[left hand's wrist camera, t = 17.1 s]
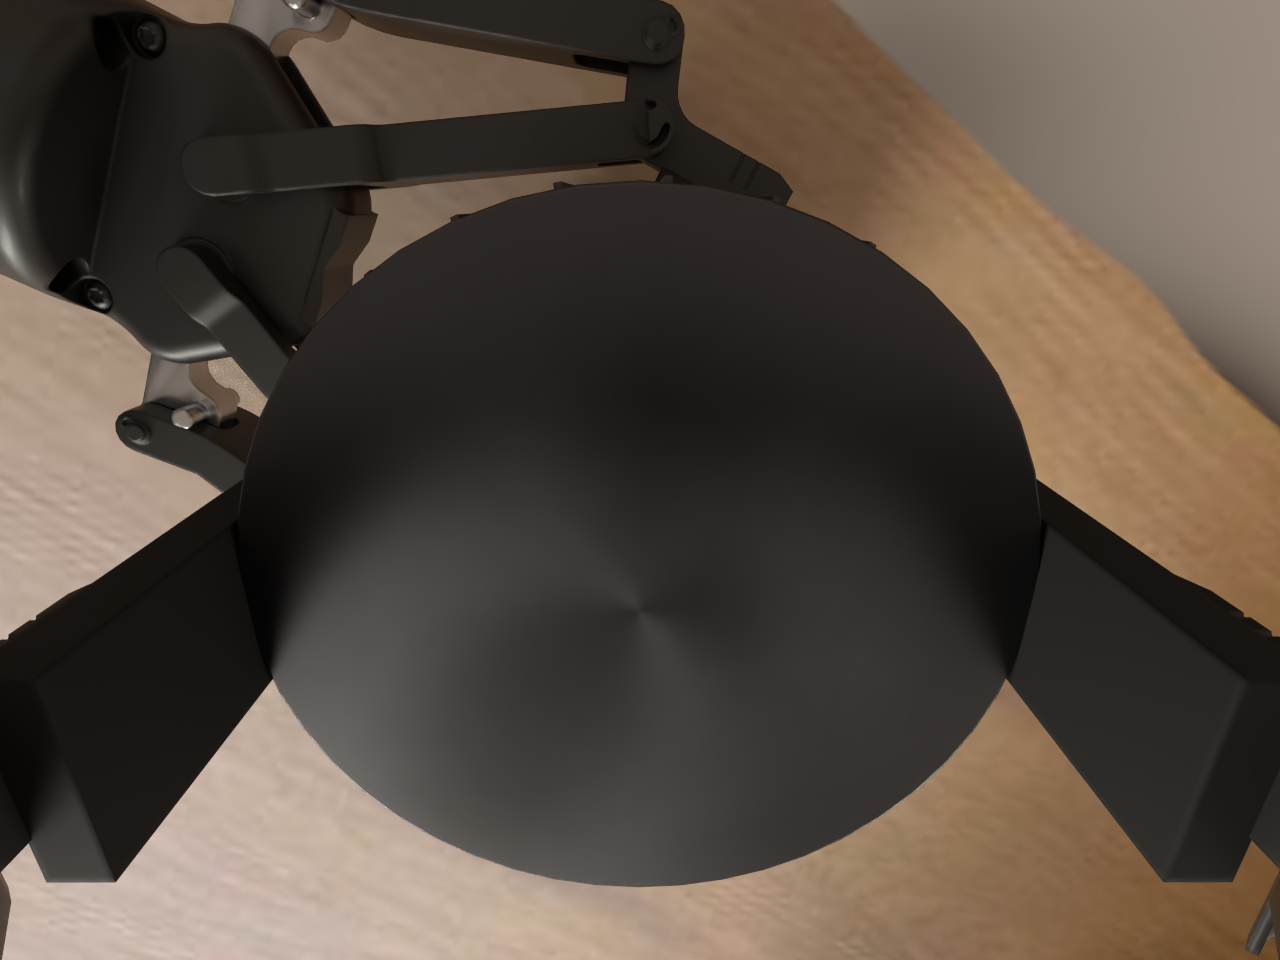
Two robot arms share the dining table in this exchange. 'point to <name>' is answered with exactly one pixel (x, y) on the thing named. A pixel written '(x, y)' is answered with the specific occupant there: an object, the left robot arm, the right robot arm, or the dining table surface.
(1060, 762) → the dining table surface
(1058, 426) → the dining table surface
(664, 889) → the dining table surface
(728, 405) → the lid
